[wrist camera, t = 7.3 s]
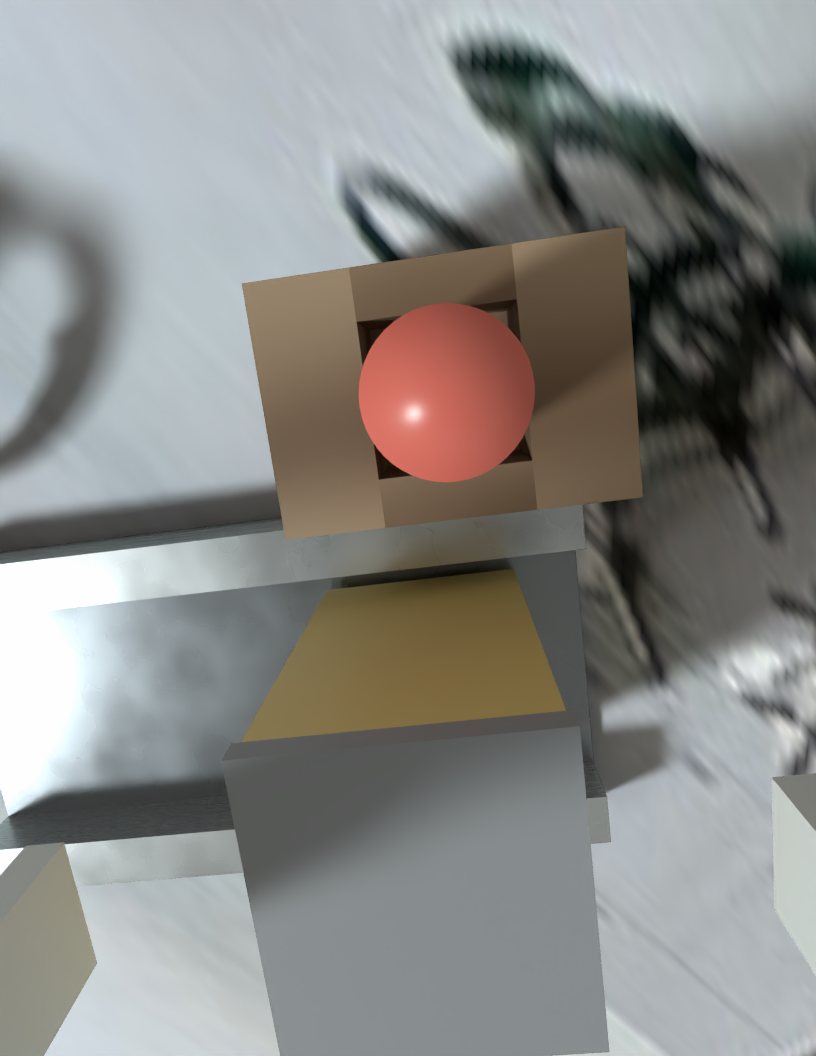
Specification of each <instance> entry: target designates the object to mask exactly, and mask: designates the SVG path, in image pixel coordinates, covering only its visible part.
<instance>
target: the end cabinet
mask: <svg viewBox="0 0 816 1056" xmlns="http://www.w3.org/2000/svg"><path fill="white" fill-rule="evenodd" d="M242 287H243V293H244V299H245V305H246V311H247V317H248V323H249V328H250V334H251V340H252V346H253V352H254V358H255V364H256V370H257V375H258V381H259V387H260V393H261V399H262V405H263V411H264V417H265V423H266V428H267V434H268V440H269V446H270V452H271V458H272V464H273V470H274V476H275V481H276V487H277V493H278V499H279V505H280V511H281V517H282V523H283V529H284V534H285V540H289V539H298V538H306V537H314V536H323V535H331V534H339V533H348V532H356V531H365V530H373V529H381V528H390V527H398V526H406V525H415V524H423V523H431V522H440V521H448V520H457V519H465V518H473V517H482V516H490V515H498V514H507V513H515V512H524V511H532V510H540V509H549V508H557V507H565V506H574V505H582V504H590V503H599V502H607V501H616V500H624V499H632V498H641V497H643V488H642V474H641V459H640V444H639V429H638V414H637V399H636V384H635V369H634V354H633V339H632V324H631V309H630V294H629V279H628V264H627V249H626V234H625V227H619V228H612V229H606V230H599V231H592V232H585V233H579V234H572V235H565V236H558V237H552V238H545V239H538V240H532V241H525V242H518V243H511V244H505V245H498V246H491V247H484V248H478V249H471V250H464V251H458V252H451V253H444V254H437V255H431V256H424V257H417V258H410V259H404V260H397V261H390V262H384V263H377V264H370V265H363V266H357V267H350V268H343V269H336V270H330V271H323V272H316V273H310V274H303V275H296V276H289V277H283V278H276V279H269V280H262V281H256V282H249V283H242ZM440 303H456V304H463V305H468V306H472V307H475V308H478V309H480V310H483V311H485V312H487V313H489V314H491V315H492V316H494V317H495V318H497V319H498V320H500V321H501V322H502V323H503V324H505V325H506V326H507V327H508V328H509V329H510V330H511V331H512V332H513V334H514V335H515V336H516V337H517V338H518V340H519V341H520V343H521V345H522V346H523V348H524V350H525V352H526V354H527V356H528V358H529V361H530V364H531V368H532V371H533V377H534V383H535V399H534V408H533V412H532V416H531V420H530V422H529V425H528V428H527V430H526V432H525V434H524V436H523V438H522V439H521V441H520V442H519V444H518V445H517V447H516V448H515V449H514V450H513V451H512V453H511V454H510V455H509V456H508V457H507V458H506V459H505V460H503V461H502V462H501V463H500V464H499V465H497V466H496V467H494V468H493V469H491V470H490V471H488V472H486V473H484V474H481V475H479V476H477V477H474V478H471V479H468V480H462V481H457V482H434V481H429V480H424V479H421V478H418V477H415V476H412V475H410V474H408V473H406V472H404V471H402V470H401V469H399V468H398V467H396V466H395V465H393V464H392V463H391V462H390V461H389V460H388V459H386V458H385V457H384V456H383V454H382V453H381V452H380V451H379V450H378V449H377V447H376V446H375V444H374V443H373V441H372V440H371V438H370V436H369V434H368V432H367V430H366V428H365V425H364V422H363V420H362V416H361V411H360V406H359V381H360V376H361V371H362V368H363V365H364V361H365V359H366V357H367V355H368V352H369V350H370V349H371V347H372V345H373V344H374V342H375V341H376V339H377V338H378V337H379V336H380V334H381V333H382V332H383V331H384V330H385V329H386V328H387V327H388V326H389V325H390V324H391V323H393V322H394V321H395V320H397V319H398V318H400V317H401V316H403V315H405V314H407V313H408V312H410V311H412V310H415V309H418V308H421V307H423V306H428V305H432V304H440Z"/></svg>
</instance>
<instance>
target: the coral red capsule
mask: <svg viewBox="0 0 816 1056" xmlns="http://www.w3.org/2000/svg"><path fill="white" fill-rule="evenodd" d="M534 399H535V383H534V377H533V371H532V368H531V364H530V361H529V358H528V356H527V354H526V352H525V350H524V348H523V346H522V345H521V343H520V341H519V340H518V338H517V337H516V336H515V335H514V334H513V332H512V331H511V330H510V329H509V328H508V327H507V326H506V325H505V324H503V323H502V322H501V321H500V320H498V319H497V318H495V317H494V316H492V315H491V314H489V313H487V312H485V311H483V310H480V309H478V308H475V307H472V306H468V305H463V304H456V303H440V304H432V305H428V306H423V307H421V308H418V309H415V310H412V311H410V312H408V313H407V314H405V315H403V316H401V317H400V318H398V319H397V320H395V321H394V322H393V323H391V324H390V325H389V326H388V327H387V328H386V329H385V330H384V331H383V332H382V333H381V334H380V336H379V337H378V338H377V339H376V341H375V342H374V344H373V345H372V347H371V349H370V350H369V352H368V355H367V357H366V359H365V361H364V365H363V368H362V371H361V376H360V381H359V406H360V411H361V416H362V420H363V422H364V425H365V428H366V430H367V432H368V434H369V436H370V438H371V440H372V441H373V443H374V444H375V446H376V447H377V449H378V450H379V451H380V452H381V453H382V454H383V456H384V457H385V458H386V459H388V460H389V461H390V462H391V463H392V464H393V465H395V466H396V467H398V468H399V469H401V470H402V471H404V472H406V473H408V474H410V475H412V476H415V477H418V478H421V479H424V480H429V481H434V482H457V481H462V480H468V479H471V478H474V477H477V476H479V475H481V474H484V473H486V472H488V471H490V470H491V469H493V468H494V467H496V466H497V465H499V464H500V463H501V462H502V461H503V460H505V459H506V458H507V457H508V456H509V455H510V454H511V453H512V451H513V450H514V449H515V448H516V447H517V445H518V444H519V442H520V441H521V439H522V438H523V436H524V434H525V432H526V430H527V428H528V425H529V422H530V420H531V416H532V412H533V408H534Z"/></svg>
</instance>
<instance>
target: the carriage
mask: <svg viewBox="0 0 816 1056" xmlns="http://www.w3.org/2000/svg"><path fill="white" fill-rule="evenodd" d="M221 763H222V768H223V773H224V778H225V783H226V788H227V793H228V798H229V803H230V808H231V813H232V818H233V823H234V828H235V833H236V838H237V843H238V848H239V853H240V858H241V863H242V867H243V872H244V877H245V882H246V887H247V892H248V897H249V902H250V907H251V912H252V917H253V922H254V927H255V932H256V937H257V942H258V947H259V952H260V957H261V962H262V967H263V972H264V977H265V982H266V987H267V992H268V997H269V1002H270V1007H271V1012H272V1017H273V1022H274V1027H275V1032H276V1037H277V1042H278V1047H279V1052H280V1056H552V1055H568V1054H585V1053H601V1052H609V1043H608V1031H607V1020H606V1009H605V998H604V987H603V976H602V965H601V954H600V943H599V932H598V921H597V910H596V899H595V888H594V877H593V866H592V855H591V844H590V833H589V822H588V811H587V799H586V788H585V777H584V766H583V755H582V744H581V733H580V725H579V723H578V720H577V718H576V715H575V713H574V710H567V711H566V709H565V706H564V703H563V701H562V698H561V695H560V693H559V690H558V687H557V684H556V682H555V679H554V676H553V674H552V671H551V668H550V666H549V663H548V660H547V658H546V655H545V652H544V650H543V647H542V644H541V642H540V639H539V636H538V634H537V631H536V628H535V626H534V623H533V620H532V618H531V615H530V612H529V610H528V607H527V604H526V602H525V599H524V596H523V594H522V591H521V588H520V585H519V583H518V580H517V577H516V575H515V572H514V569H508V570H499V571H490V572H482V573H473V574H464V575H455V576H446V577H437V578H429V579H420V580H411V581H402V582H393V583H385V584H376V585H367V586H358V587H349V588H340V589H332V590H327V591H326V593H325V595H324V597H323V598H322V600H321V602H320V604H319V605H318V607H317V609H316V611H315V612H314V614H313V616H312V618H311V619H310V621H309V623H308V625H307V626H306V628H305V630H304V632H303V633H302V635H301V637H300V639H299V641H298V642H297V644H296V646H295V648H294V649H293V651H292V653H291V655H290V656H289V658H288V660H287V662H286V663H285V665H284V667H283V669H282V670H281V672H280V674H279V676H278V677H277V679H276V681H275V683H274V685H273V686H272V688H271V690H270V692H269V693H268V695H267V697H266V699H265V700H264V702H263V704H262V706H261V707H260V709H259V711H258V713H257V714H256V716H255V718H254V720H253V721H252V723H251V725H250V727H249V728H248V730H247V732H246V734H245V736H244V737H243V739H242V741H241V742H239V743H231V745H230V746H229V748H228V750H227V751H226V753H225V755H224V756H223V758H222V760H221Z"/></svg>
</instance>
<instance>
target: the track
mask: <svg viewBox="0 0 816 1056" xmlns="http://www.w3.org/2000/svg"><path fill="white" fill-rule="evenodd" d="M579 549H586V539H585V527H584V516H583V504H582V505H574V506H565V507H557V508H549V509H540V510H532V511H524V512H515V513H507V514H498V515H490V516H482V517H473V518H465V519H457V520H448V521H440V522H431V523H423V524H415V525H406V526H398V527H390V528H381V529H373V530H365V531H356V532H348V533H339V534H331V535H323V536H314V537H306V538H298V539H289V540H285V534H284V529H283V523H282V518H275V519H266V520H258V521H250V522H242V523H234V524H225V525H217V526H209V527H201V528H193V529H184V530H176V531H168V532H160V533H152V534H143V535H135V536H127V537H119V538H111V539H102V540H94V541H86V542H78V543H70V544H61V545H53V546H45V547H37V548H29V549H20V550H12V551H4V552H0V787H1V790H2V794H3V798H4V801H5V805H6V809H7V813H8V817H7V818H6V819H5V820H4V821H3V822H2V823H1V824H0V875H1V874H2V873H3V872H4V870H5V869H6V868H7V867H8V866H9V865H10V864H11V862H12V861H13V860H14V859H15V858H16V857H17V855H18V854H19V853H20V852H21V851H22V850H23V849H24V847H25V846H29V845H40V844H51V843H62V842H64V844H65V847H66V851H67V855H68V858H69V862H70V866H71V869H72V873H73V877H74V880H75V884H76V886H88V885H100V884H112V883H124V882H136V881H148V880H161V879H173V878H185V877H197V876H209V875H221V874H233V873H244V872H243V867H242V863H241V858H240V853H239V848H238V843H237V838H236V833H235V828H234V823H233V818H232V813H231V808H230V803H229V798H228V793H227V788H226V783H225V778H224V773H223V768H222V763H221V760H222V758H223V756H224V755H225V753H226V751H227V750H228V748H229V746H230V745H231V743H239V742H241V741H242V739H243V737H244V736H245V734H246V732H247V730H248V728H249V727H250V725H251V723H252V721H253V720H254V718H255V716H256V714H257V713H258V711H259V709H260V707H261V706H262V704H263V702H264V700H265V699H266V697H267V695H268V693H269V692H270V690H271V688H272V686H273V685H274V683H275V681H276V679H277V677H278V676H279V674H280V672H281V670H282V669H283V667H284V665H285V663H286V662H287V660H288V658H289V656H290V655H291V653H292V651H293V649H294V648H295V646H296V644H297V642H298V641H299V639H300V637H301V635H302V633H303V632H304V630H305V628H306V626H307V625H308V623H309V621H310V619H311V618H312V616H313V614H314V612H315V611H316V609H317V607H318V605H319V604H320V602H321V600H322V598H323V597H324V595H325V593H326V591H327V590H332V589H340V588H349V587H358V586H367V585H376V584H385V583H393V582H402V581H411V580H420V579H429V578H437V577H446V576H455V575H464V574H473V573H482V572H490V571H499V570H508V569H514V572H515V575H516V577H517V580H518V583H519V585H520V588H521V591H522V594H523V596H524V599H525V602H526V604H527V607H528V610H529V612H530V615H531V618H532V620H533V623H534V626H535V628H536V631H537V634H538V636H539V639H540V642H541V644H542V647H543V650H544V652H545V655H546V658H547V660H548V663H549V666H550V668H551V671H552V674H553V676H554V679H555V682H556V684H557V687H558V690H559V693H560V695H561V698H562V701H563V703H564V706H565V709H566V711H567V710H574V713H575V715H576V718H577V720H578V723H579V725H580V733H581V744H582V755H583V766H584V777H585V788H586V799H587V811H588V822H589V833H590V844H594V843H607V842H611V837H610V825H609V813H608V801H607V795H606V793H605V790H604V787H603V785H602V782H601V780H600V777H599V775H598V772H597V770H596V767H595V765H594V760H593V749H592V737H591V726H590V715H589V703H588V692H587V680H586V669H585V657H584V646H583V634H582V623H581V611H580V600H579V589H578V577H577V566H576V554H575V550H579Z"/></svg>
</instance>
